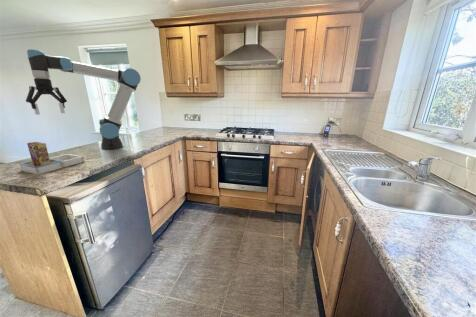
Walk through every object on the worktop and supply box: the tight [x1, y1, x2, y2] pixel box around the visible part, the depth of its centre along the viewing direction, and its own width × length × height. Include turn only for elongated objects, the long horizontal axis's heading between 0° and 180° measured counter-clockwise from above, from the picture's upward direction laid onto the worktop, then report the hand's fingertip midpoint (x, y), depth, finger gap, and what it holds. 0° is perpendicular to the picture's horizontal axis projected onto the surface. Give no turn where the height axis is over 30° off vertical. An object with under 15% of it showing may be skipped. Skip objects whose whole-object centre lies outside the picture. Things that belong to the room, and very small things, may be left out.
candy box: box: [26, 141, 50, 166], centre depth 109 cm, size 9×4×15 cm, turn 71°
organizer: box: [19, 153, 85, 175], centre depth 116 cm, size 24×14×4 cm, turn 161°
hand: (51, 113), depth 125 cm, fingers open, 13 cm apart
